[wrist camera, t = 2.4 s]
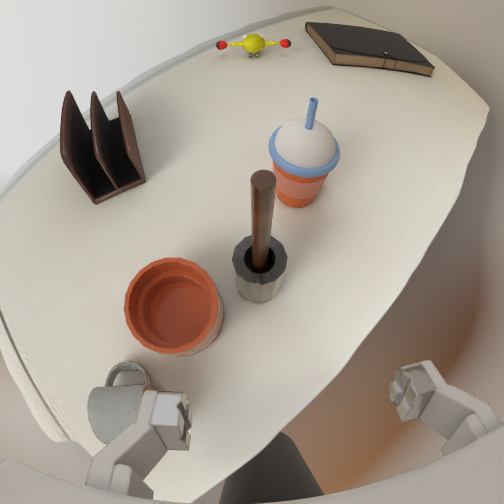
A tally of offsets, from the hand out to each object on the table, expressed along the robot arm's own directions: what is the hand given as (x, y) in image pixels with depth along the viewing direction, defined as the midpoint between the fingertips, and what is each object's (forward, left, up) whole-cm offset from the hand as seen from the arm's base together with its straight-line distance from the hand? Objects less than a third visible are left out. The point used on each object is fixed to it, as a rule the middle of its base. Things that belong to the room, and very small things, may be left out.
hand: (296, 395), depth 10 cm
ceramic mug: (+1, +18, -27) cm, 32 cm away
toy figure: (+66, -20, -27) cm, 74 cm away
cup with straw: (+24, -13, -27) cm, 38 cm away
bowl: (+11, +8, -26) cm, 30 cm away
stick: (+12, -3, -26) cm, 29 cm away
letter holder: (+43, +15, -27) cm, 53 cm away
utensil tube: (+12, -3, -26) cm, 29 cm away
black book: (+67, -56, -27) cm, 91 cm away
